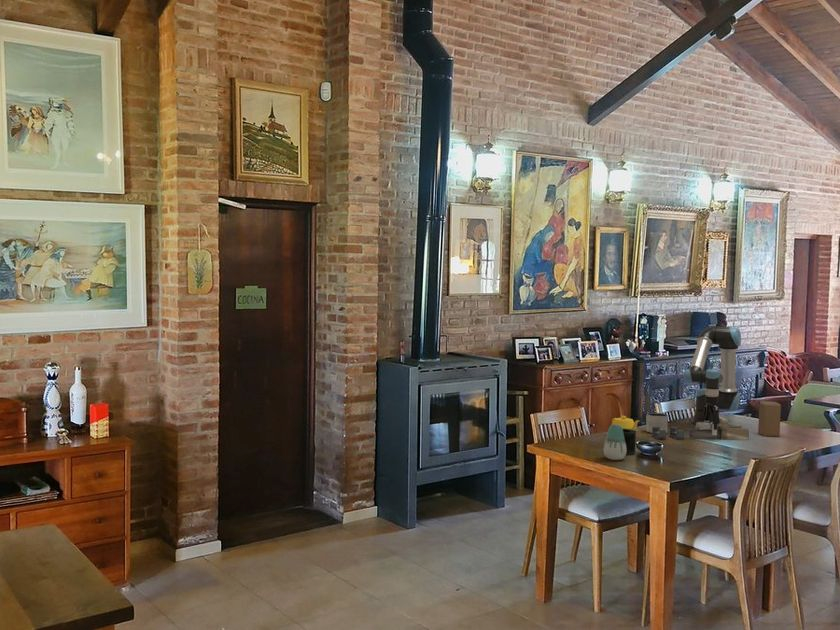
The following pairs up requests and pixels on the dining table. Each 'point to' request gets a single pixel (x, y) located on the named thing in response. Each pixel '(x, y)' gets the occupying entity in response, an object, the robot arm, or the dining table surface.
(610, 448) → the vase
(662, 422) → the planter
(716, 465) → the dining table surface
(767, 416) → the wooden block
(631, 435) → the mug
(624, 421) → the teapot
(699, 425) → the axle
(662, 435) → the v block
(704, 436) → the beam
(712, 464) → the dining table surface
